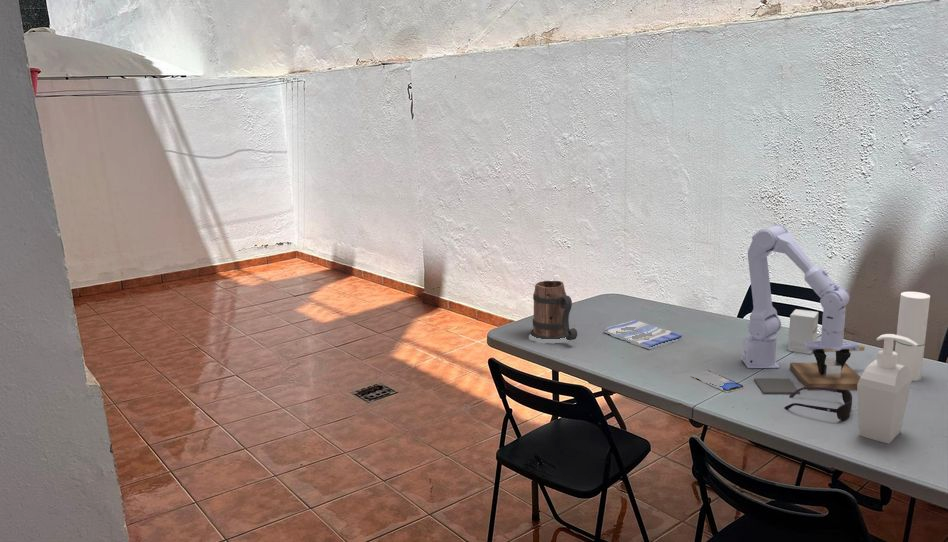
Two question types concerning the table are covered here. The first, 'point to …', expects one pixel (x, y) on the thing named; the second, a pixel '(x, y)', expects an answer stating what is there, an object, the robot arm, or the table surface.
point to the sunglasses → (842, 411)
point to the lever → (861, 348)
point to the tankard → (552, 312)
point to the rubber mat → (776, 385)
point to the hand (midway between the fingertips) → (829, 373)
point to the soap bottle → (884, 393)
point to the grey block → (832, 369)
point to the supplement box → (802, 330)
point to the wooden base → (814, 379)
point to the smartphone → (729, 384)
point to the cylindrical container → (912, 331)
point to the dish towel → (657, 333)
